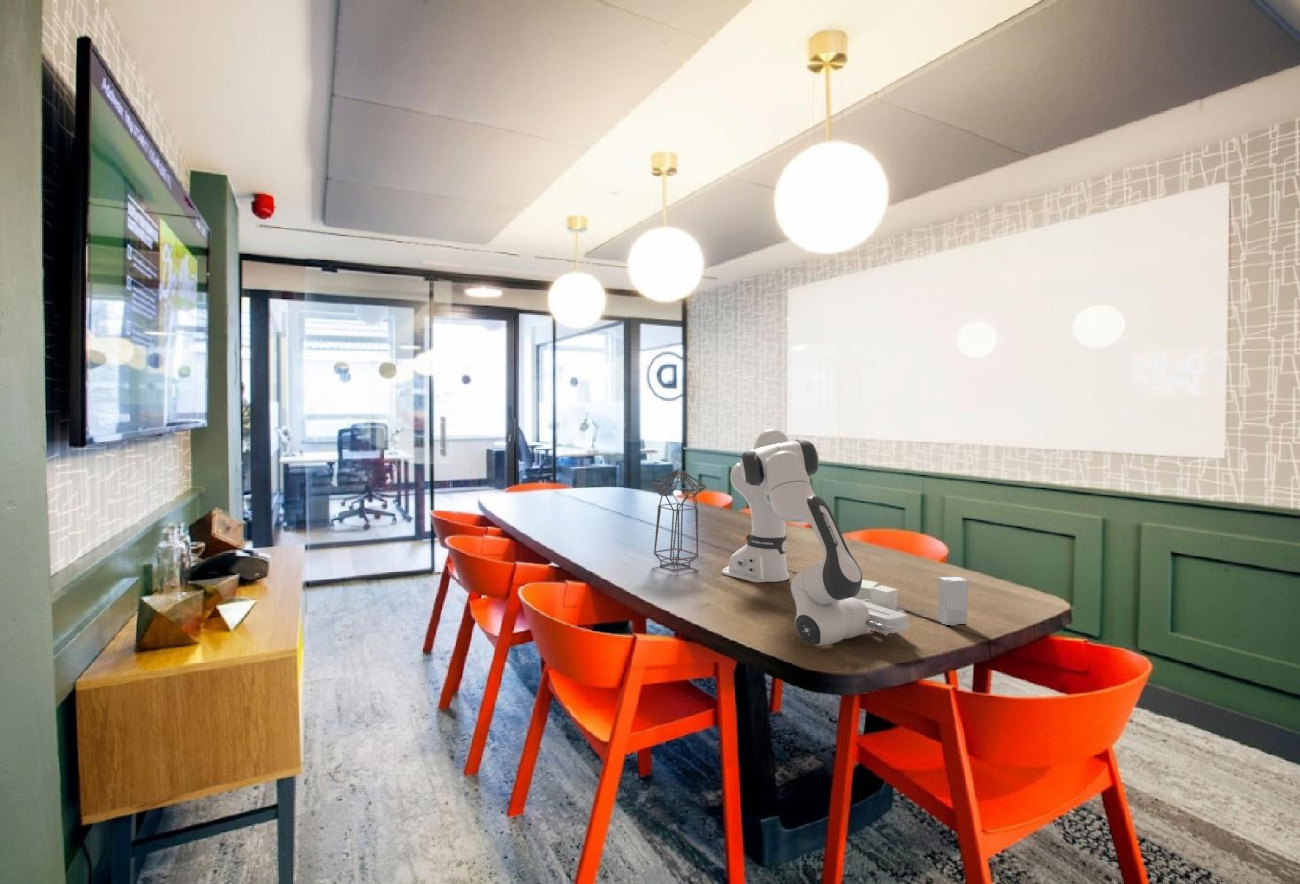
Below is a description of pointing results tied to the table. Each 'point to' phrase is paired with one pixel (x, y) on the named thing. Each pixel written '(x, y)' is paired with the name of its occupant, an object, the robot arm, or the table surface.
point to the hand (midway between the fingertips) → (885, 607)
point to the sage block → (865, 590)
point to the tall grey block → (884, 598)
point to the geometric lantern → (658, 485)
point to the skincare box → (952, 600)
